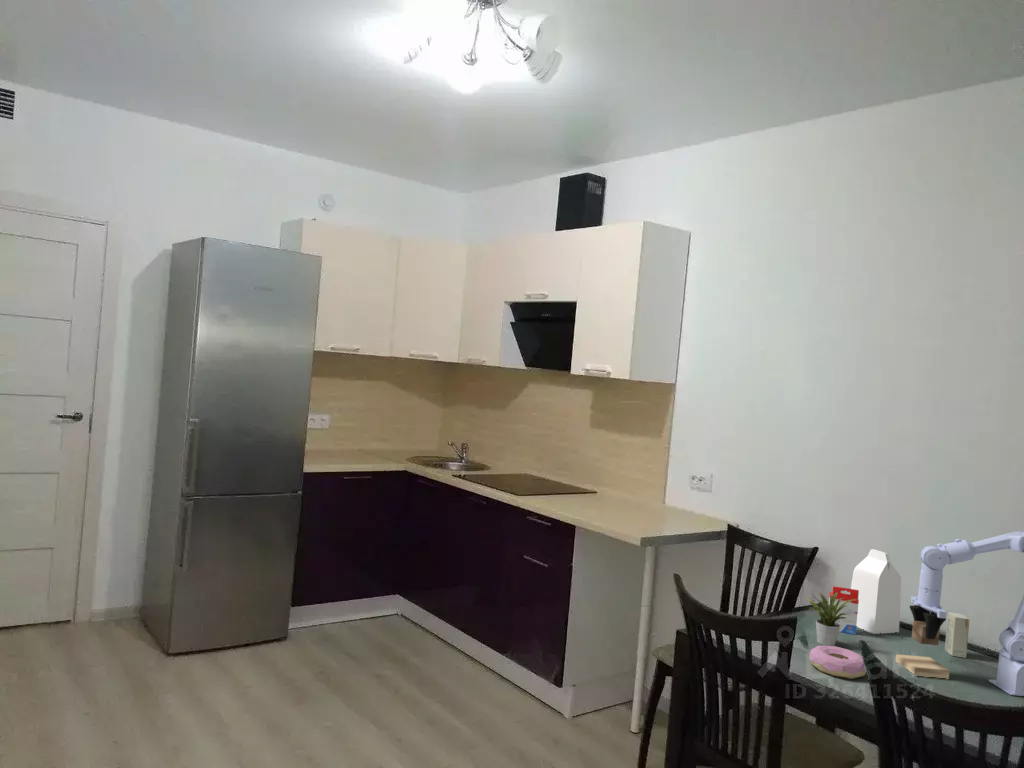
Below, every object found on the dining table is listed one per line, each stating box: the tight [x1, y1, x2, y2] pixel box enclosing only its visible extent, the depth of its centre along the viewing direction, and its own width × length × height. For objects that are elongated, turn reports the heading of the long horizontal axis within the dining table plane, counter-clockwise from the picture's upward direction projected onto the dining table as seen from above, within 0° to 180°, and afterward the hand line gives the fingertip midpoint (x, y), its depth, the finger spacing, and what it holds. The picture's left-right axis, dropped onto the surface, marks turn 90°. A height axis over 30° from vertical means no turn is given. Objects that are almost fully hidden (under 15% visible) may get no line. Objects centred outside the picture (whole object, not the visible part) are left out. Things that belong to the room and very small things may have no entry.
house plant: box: [806, 590, 853, 646], centre depth 237 cm, size 14×14×16 cm
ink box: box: [828, 585, 859, 635], centre depth 251 cm, size 8×5×15 cm, turn 74°
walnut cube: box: [911, 620, 941, 646], centre depth 219 cm, size 5×5×5 cm
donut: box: [808, 645, 867, 680], centre depth 213 cm, size 16×15×5 cm
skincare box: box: [944, 611, 971, 659], centre depth 237 cm, size 6×4×12 cm
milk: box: [850, 548, 902, 635], centre depth 258 cm, size 12×12×26 cm
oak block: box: [895, 653, 951, 680], centre depth 219 cm, size 10×10×3 cm
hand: (925, 635), depth 219 cm, fingers closed on walnut cube, 5 cm apart
